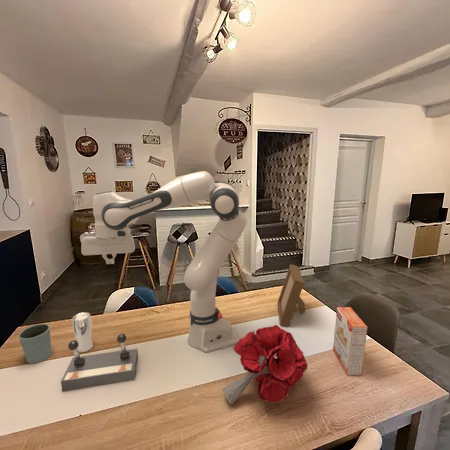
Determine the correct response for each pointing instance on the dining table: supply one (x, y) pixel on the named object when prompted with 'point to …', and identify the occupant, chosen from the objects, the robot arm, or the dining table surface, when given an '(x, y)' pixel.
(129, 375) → the switch unit
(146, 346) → the dining table surface
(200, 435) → the dining table surface
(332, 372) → the dining table surface
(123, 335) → the lever
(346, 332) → the cracker box
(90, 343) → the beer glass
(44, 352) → the green plant pot
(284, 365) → the bouquet
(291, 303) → the photo frame
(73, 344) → the lever
